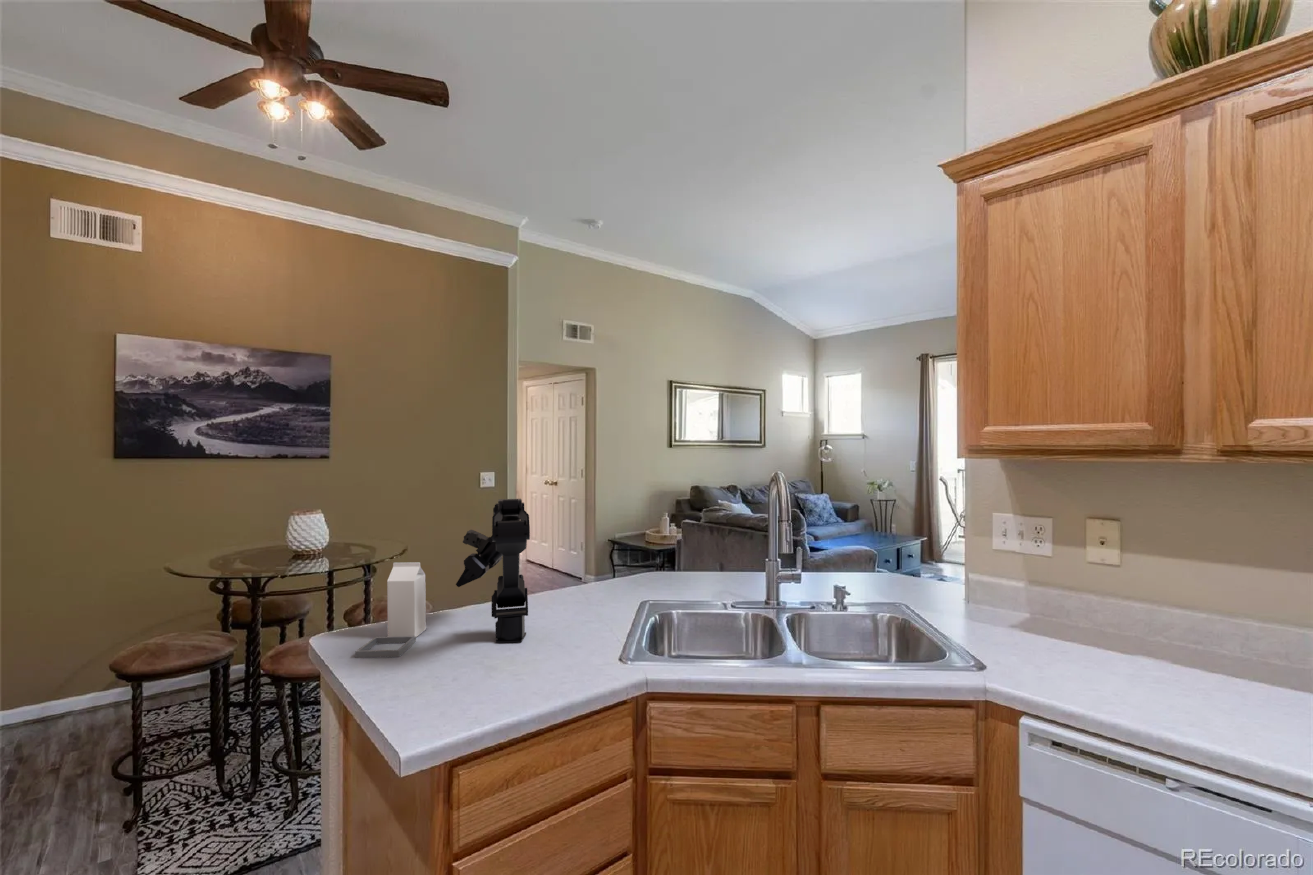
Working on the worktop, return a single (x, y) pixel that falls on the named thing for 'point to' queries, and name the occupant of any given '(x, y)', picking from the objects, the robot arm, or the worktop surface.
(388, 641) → the drip tray
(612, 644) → the worktop surface
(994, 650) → the worktop surface
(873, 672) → the worktop surface
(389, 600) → the milk carton
